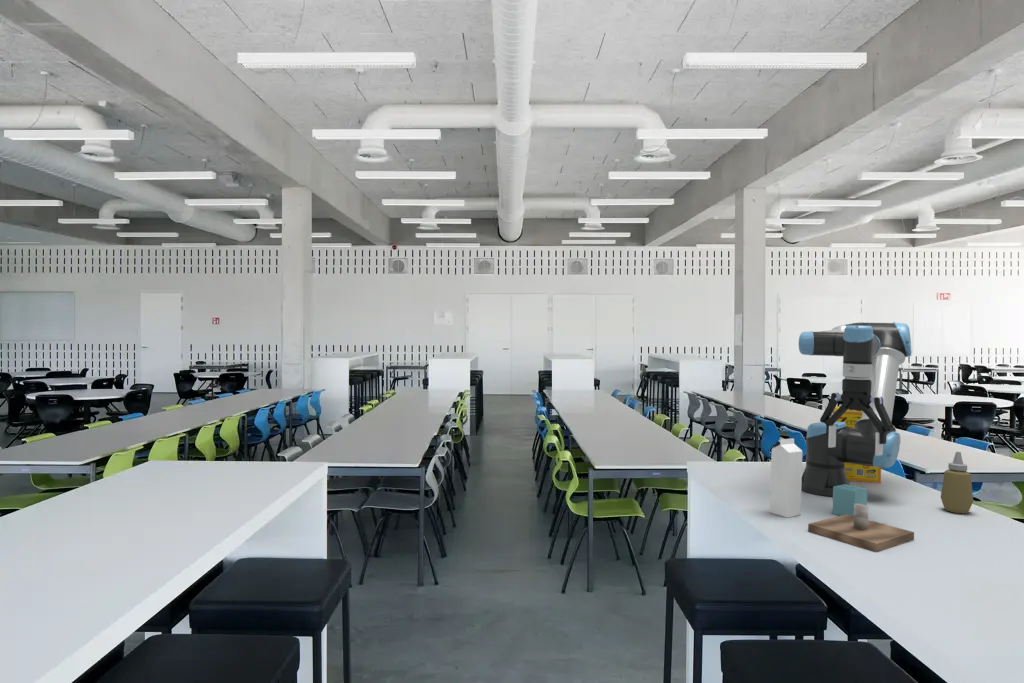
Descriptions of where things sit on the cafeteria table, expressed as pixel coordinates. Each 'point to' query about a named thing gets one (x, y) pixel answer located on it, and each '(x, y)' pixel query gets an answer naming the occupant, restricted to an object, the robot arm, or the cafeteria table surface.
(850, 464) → the packaging box
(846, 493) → the teal block
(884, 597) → the cafeteria table surface
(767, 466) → the cafeteria table surface
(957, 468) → the squeeze bottle
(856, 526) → the walnut stand
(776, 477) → the milk
